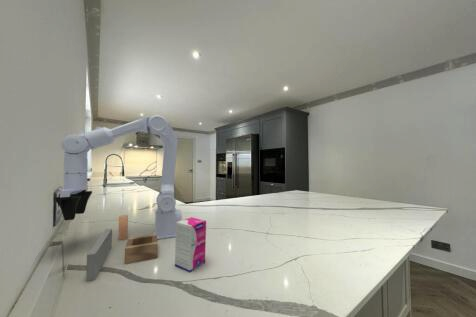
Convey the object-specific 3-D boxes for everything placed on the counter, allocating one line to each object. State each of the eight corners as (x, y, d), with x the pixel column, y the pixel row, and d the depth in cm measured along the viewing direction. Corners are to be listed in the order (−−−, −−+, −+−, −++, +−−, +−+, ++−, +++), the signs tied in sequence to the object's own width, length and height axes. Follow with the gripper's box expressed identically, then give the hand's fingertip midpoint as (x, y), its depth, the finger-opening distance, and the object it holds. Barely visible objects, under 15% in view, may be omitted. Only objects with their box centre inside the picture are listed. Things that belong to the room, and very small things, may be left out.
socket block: (157, 246, 60) (157, 233, 60) (157, 257, 53) (157, 243, 53) (128, 251, 57) (128, 237, 57) (124, 264, 50) (124, 248, 50)
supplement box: (190, 273, 46) (190, 225, 46) (174, 266, 49) (174, 221, 49) (206, 262, 51) (206, 219, 51) (190, 256, 54) (191, 216, 54)
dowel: (128, 236, 69) (128, 214, 69) (127, 239, 66) (127, 216, 66) (119, 237, 67) (119, 215, 68) (117, 240, 65) (118, 217, 65)
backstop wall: (111, 247, 59) (111, 228, 60) (95, 280, 43) (95, 253, 43) (105, 248, 59) (105, 229, 59) (86, 281, 42) (87, 254, 43)
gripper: (70, 172, 65) (69, 212, 65) (46, 175, 52) (45, 224, 51) (95, 172, 68) (94, 210, 67) (78, 174, 54) (77, 221, 54)
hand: (75, 216), depth 60 cm, fingers open, 7 cm apart
